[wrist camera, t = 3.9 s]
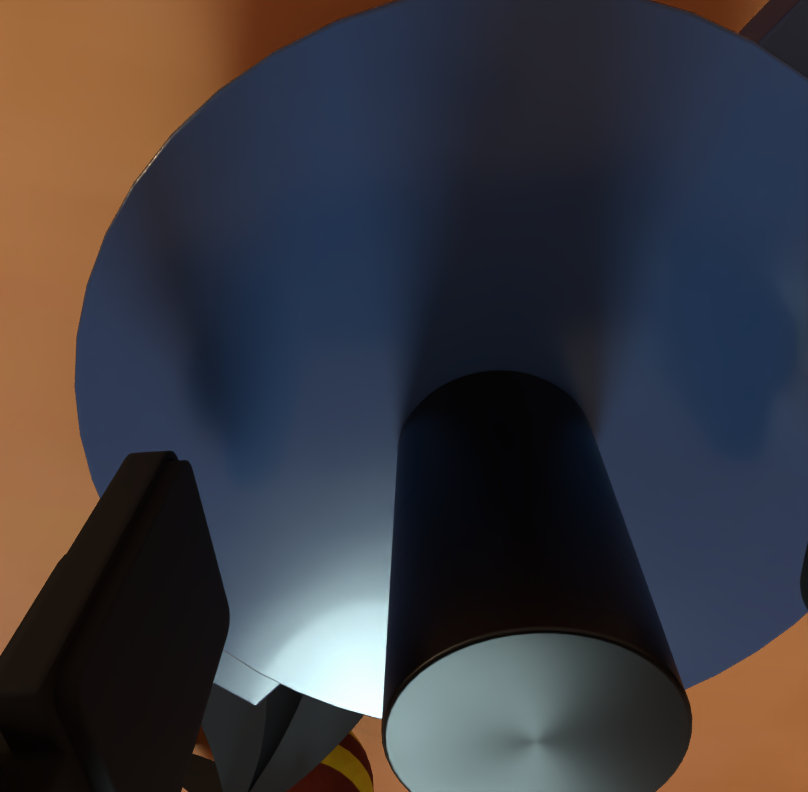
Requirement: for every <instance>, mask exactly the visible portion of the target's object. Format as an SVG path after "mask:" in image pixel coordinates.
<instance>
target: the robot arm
mask: <svg viewBox="0 0 808 792" xmlns="http://www.w3.org/2000/svg"><path fill="white" fill-rule="evenodd" d="M800 590H801V596H802V599H803V602H804V604H805V606H806V608H807V610H808V543H807V547H806V552H805V557H804V562H803V566H802V571H801V576H800ZM229 624H230V610H229V604H228V600H227V596H226V593H225V589H224V585H223V581H222V578H221V574H220V570H219V566H218V563H217V559H216V555H215V551H214V548H213V544H212V540H211V536H210V532H209V529H208V525H207V521H206V517H205V514H204V510H203V506H202V502H201V499H200V495H199V491H198V487H197V484H196V480H195V476H194V472H193V469H192V466H191V464H190V463H189V461H187V460H179V459H178V457H177V455H176V454H175V452H173V451H171V450H170V451H154V452H137V453H130V454H128V455H127V457H126V458H125V459H124V461H123V463H122V464H121V466H120V467H119V469H118V471H117V472H116V474H115V476H114V477H113V479H112V480H111V482H110V484H109V485H108V487H107V489H106V490H105V492H104V494H103V495H102V497H101V498H100V500H99V502H98V503H97V505H96V507H95V508H94V510H93V512H92V513H91V515H90V516H89V518H88V520H87V521H86V523H85V525H84V526H83V528H82V530H81V531H80V533H79V534H78V536H77V538H76V539H75V541H74V543H73V544H72V546H71V548H70V549H69V551H68V552H67V554H66V555H64V556H63V558H62V559H61V560H60V561H59V562H58V564H57V565H56V567H55V568H54V570H53V572H52V573H51V575H50V576H49V578H48V580H47V581H46V583H45V585H44V586H43V588H42V589H41V591H40V593H39V594H38V596H37V598H36V599H35V601H34V602H33V604H32V606H31V607H30V609H29V611H28V612H27V614H26V615H25V617H24V619H23V620H22V622H21V624H20V625H19V627H18V628H17V630H16V632H15V633H14V635H13V636H12V638H11V640H10V641H9V643H8V645H7V646H6V648H5V649H4V651H3V653H2V654H1V656H0V792H181V790H182V787H183V783H184V780H185V777H186V773H187V770H188V766H189V763H190V760H191V756H192V753H193V750H194V746H195V743H196V740H197V736H198V733H199V729H200V726H201V723H202V719H203V716H204V713H205V709H206V706H207V702H208V699H209V696H210V692H211V689H212V686H213V682H214V679H215V676H216V672H217V669H218V665H219V662H220V659H221V655H222V652H223V649H224V645H225V642H226V638H227V635H228V631H229Z"/></svg>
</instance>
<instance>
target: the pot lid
mask: <svg viewBox="0 0 808 792" xmlns="http://www.w3.org/2000/svg"><path fill="white" fill-rule="evenodd" d="M75 394H76V403H77V412H78V421H79V429H80V436H81V440H82V444H83V447H84V451H85V455H86V459H87V463H88V466H89V470H90V474H91V478H92V481H93V483H94V485H95V488H96V490H97V492H98V495H99V497H100V498H101V497H102V495H103V494H104V492H105V490H106V489H107V487H108V485H109V484H110V482H111V480H112V479H113V477H114V476H115V474H116V472H117V471H118V469H119V467H120V466H121V464H122V463H123V461H124V459H125V458H126V457H127V455H128V454H130V453H137V452H154V451H170V450H171V451H173V452H175V454H176V455H177V457H178V459H179V460H187V461H189V463H190V464H191V466H192V469H193V472H194V476H195V480H196V484H197V487H198V491H199V495H200V499H201V502H202V506H203V510H204V514H205V517H206V521H207V525H208V529H209V532H210V536H211V540H212V544H213V548H214V551H215V555H216V559H217V563H218V566H219V570H220V574H221V578H222V581H223V585H224V589H225V593H226V596H227V600H228V604H229V610H230V624H229V631H228V635H227V638H226V642H225V645H224V649H223V651H225V652H227V653H228V654H230V655H231V656H233V657H234V658H236V659H238V660H239V661H241V662H242V663H244V664H245V665H247V666H249V667H250V668H252V669H253V670H255V671H256V672H258V673H260V674H262V675H264V676H266V677H268V678H270V679H272V680H274V681H276V682H278V683H280V684H282V685H284V686H286V687H288V688H290V689H292V690H294V691H296V692H298V693H301V694H304V695H306V696H309V697H311V698H314V699H317V700H319V701H322V702H324V703H327V704H330V705H332V706H335V707H338V708H342V709H345V710H349V711H352V712H356V713H359V714H363V715H367V716H370V717H374V718H378V719H382V728H381V731H382V744H383V748H384V752H385V756H386V758H387V760H388V762H389V764H390V767H391V769H392V771H393V772H394V774H395V775H396V777H397V778H398V779H399V781H400V782H401V783H402V784H403V785H404V786H405V787H406V789H407V790H408V791H409V792H656V791H657V790H658V789H659V788H660V787H661V786H663V785H664V784H665V783H666V782H667V781H668V779H669V778H670V777H671V776H672V775H673V774H674V773H675V771H676V770H677V768H678V767H679V765H680V764H681V762H682V760H683V758H684V756H685V754H686V751H687V749H688V746H689V742H690V738H691V733H692V713H691V707H690V703H689V700H688V697H687V694H686V692H685V689H687V688H690V687H692V686H694V685H696V684H698V683H700V682H703V681H705V680H707V679H709V678H711V677H713V676H716V675H718V674H719V673H721V672H723V671H725V670H726V669H728V668H730V667H731V666H733V665H735V664H736V663H738V662H740V661H742V660H743V659H745V658H747V657H748V656H750V655H752V654H754V653H755V652H757V651H758V650H760V649H761V648H763V647H764V646H765V645H767V644H768V643H769V642H771V641H772V640H774V639H775V638H776V637H778V636H779V635H780V634H782V633H783V632H785V631H786V630H787V629H789V628H790V627H791V626H793V625H794V624H795V623H796V622H798V621H799V620H800V619H801V618H802V617H803V616H804V615H805V614H806V613H808V610H807V608H806V606H805V604H804V602H803V599H802V596H801V590H800V576H801V571H802V566H803V562H804V557H805V552H806V547H807V543H808V77H807V76H806V75H804V74H803V73H801V72H800V71H798V70H797V69H795V68H794V67H792V66H791V65H789V64H788V63H786V62H785V61H783V60H782V59H781V58H779V57H778V56H776V55H775V54H773V53H772V52H770V51H769V50H767V49H766V48H764V47H763V46H761V45H760V44H758V43H757V42H755V41H754V40H751V39H749V38H747V37H745V36H743V35H741V34H738V33H736V32H734V31H732V30H730V29H728V28H726V27H723V26H721V25H719V24H717V23H715V22H713V21H710V20H708V19H706V18H704V17H702V16H700V15H697V14H695V13H693V12H690V11H687V10H683V9H680V8H676V7H673V6H669V5H666V4H662V3H659V2H655V1H651V0H394V1H391V2H388V3H385V4H382V5H379V6H376V7H373V8H370V9H367V10H364V11H361V12H358V13H354V14H351V15H348V16H345V17H342V18H339V19H337V20H335V21H333V22H331V23H329V24H327V25H325V26H323V27H321V28H319V29H317V30H315V31H313V32H311V33H309V34H307V35H305V36H303V37H301V38H299V39H297V40H295V41H293V42H291V43H289V44H287V45H285V46H283V47H281V48H279V49H277V50H275V51H274V52H272V53H271V54H269V55H268V56H266V57H265V58H264V59H262V60H261V61H259V62H258V63H256V64H255V65H254V66H252V67H251V68H249V69H248V70H246V71H245V72H244V73H242V74H241V75H239V76H238V77H236V78H235V79H233V80H232V81H231V82H229V83H228V84H226V85H225V86H223V87H222V88H221V89H219V90H218V91H217V92H216V93H215V94H214V95H212V96H211V97H210V98H209V99H208V100H207V101H206V102H205V103H204V104H203V105H202V106H201V107H200V108H199V109H198V110H197V111H196V112H195V113H193V114H192V115H191V116H190V117H189V118H188V119H187V120H186V121H185V122H184V123H183V124H182V125H181V126H180V127H179V128H178V129H177V130H176V131H174V132H173V133H172V134H171V135H170V137H169V138H168V139H167V141H166V142H165V143H164V144H163V146H162V147H161V148H160V150H159V151H158V152H157V153H156V155H155V156H154V157H153V159H152V160H151V161H150V162H149V164H148V165H147V166H146V168H145V169H144V170H143V171H142V173H141V174H140V175H139V177H138V178H137V179H136V180H135V182H134V183H133V185H132V187H131V188H130V190H129V192H128V194H127V196H126V197H125V199H124V201H123V203H122V205H121V206H120V208H119V210H118V212H117V214H116V216H115V217H114V219H113V221H112V223H111V225H110V226H109V228H108V230H107V232H106V234H105V236H104V239H103V242H102V244H101V247H100V250H99V253H98V255H97V258H96V261H95V264H94V266H93V269H92V272H91V275H90V277H89V280H88V283H87V286H86V291H85V296H84V301H83V306H82V311H81V316H80V321H79V326H78V332H77V339H76V364H75Z"/></svg>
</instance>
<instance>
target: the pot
mask: <svg viewBox="0 0 808 792" xmlns="http://www.w3.org/2000/svg"><path fill="white" fill-rule="evenodd" d="M738 34H741V35H743V36H745V37H747V38H749V39H751V40H754V41H755V42H757V43H758V44H760V45H761V46H763V47H764V48H766V49H767V50H769V51H770V52H772V53H773V54H775V55H776V56H778V57H779V58H781V59H782V60H783V61H785V62H786V63H788V64H789V65H791V66H792V67H794V68H795V69H797V70H798V71H800V72H801V73H803V74H804V75H806V76H807V77H808V0H770V1H769V2H768V3H767V4H766V5H765V6H764V7H763V8H762V9H761V10H760V11H759V12H758V13H757V14H756V15H755V16H754V17H753V18H752V19H751V20H750V22H749V23H748V24H747V25H746V26H745V27H744V28H743V29H742V30H741V31H740V32H739V33H738ZM213 683H214V684H216V685H217V686H219V687H221V688H223V689H225V690H227V691H228V692H230V693H232V694H234V695H236V696H237V697H239V698H241V699H243V700H245V701H247V702H248V703H250V704H252V705H255V706H256V705H258V704H259V703H260V702H261V701H263V700H264V699H265V698H266V697H267V696H268V695H269V694H270V693H272V692H273V691H274V690H275V689H276V688H277V687H278V686H279V685H281V684H280V683H278V682H276V681H274V680H272V679H270V678H268V677H266V676H264V675H262V674H260V673H258V672H256V671H255V670H253V669H252V668H250V667H249V666H247V665H245V664H244V663H242V662H241V661H239V660H238V659H236V658H234V657H233V656H231V655H230V654H228V653H227V652H225V651H223V652H222V655H221V659H220V662H219V665H218V669H217V672H216V676H215V679H214V682H213Z"/></svg>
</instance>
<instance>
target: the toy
mask: <svg viewBox="0 0 808 792" xmlns="http://www.w3.org/2000/svg"><path fill="white" fill-rule="evenodd" d="M362 716H363V714H359V713H356V712H352V711H349V710H345V709H342V708H338V707H335V706H332V705H330V704H327V703H324V702H322V701H319V700H317V699H314V698H311V697H309V696H306V695H304V694H301V693H298V692H296V691H294V690H292V689H290V688H288V687H286V686H284V685H282V684H281V685H279V686H278V687H277V688H276V689H275V690H274V691H273V692H272V693H270V694H269V695H268V696H267V697H266V698H265V699H264V700H263V701H261V702H260V703H259V704H258V705H256V706H255V705H252V704H250V703H248V702H247V701H245V700H243V699H241V698H239V697H237V696H236V695H234V694H232V693H230V692H228V691H227V690H225V689H223V688H221V687H219V686H217V685H216V684H214V683H213V686H212V689H211V692H210V696H209V699H208V702H207V706H206V709H205V713H204V716H203V719H202V723H201V727H202V729H203V731H204V733H205V736H206V738H207V741H208V743H209V746H210V748H211V751H212V754H213V757H214V761H215V762H214V761H211V760H209V759H206V758H204V757H201V756H198V755H195V754H192V756H191V760H190V763H189V766H188V770H187V773H186V777H185V780H184V783H183V788H184V789H186V790H187V791H188V792H374V789H373V775H372V770H371V766H370V763H369V760H368V758H367V755H366V752H365V750H364V749H363V747H362V745H361V743H360V742H359V740H358V739H357V738H356V736H355V735H354V734H353V732H352V731H351V730H352V729H353V728H354V727H355V725H356V724H357V723H358V722H359V720H360V719H361V718H362Z"/></svg>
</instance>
